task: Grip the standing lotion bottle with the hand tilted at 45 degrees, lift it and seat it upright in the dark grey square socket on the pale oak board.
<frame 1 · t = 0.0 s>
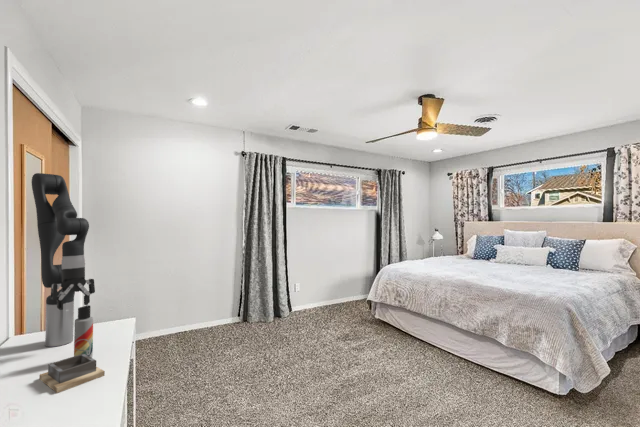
hand: (73, 307, 129), 17 cm above the table, tool pointing down, fingers open, 8 cm apart
lotion bottle: (83, 359, 120), on the table
socket board: (72, 377, 107), on the table
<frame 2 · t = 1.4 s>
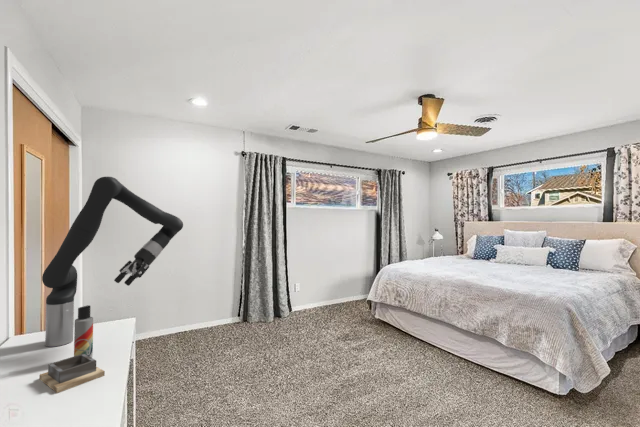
hand: (121, 283, 132), 26 cm above the table, tool tilted 45°, fingers open, 8 cm apart
nothing on the table moved.
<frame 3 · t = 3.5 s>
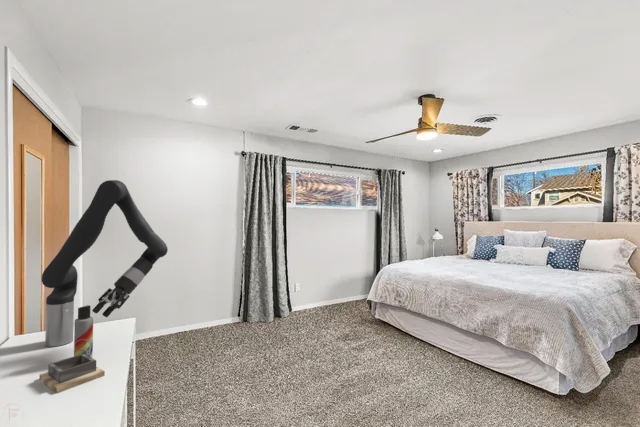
hand: (99, 314, 125), 16 cm above the table, tool tilted 45°, fingers open, 8 cm apart
nothing on the table moved.
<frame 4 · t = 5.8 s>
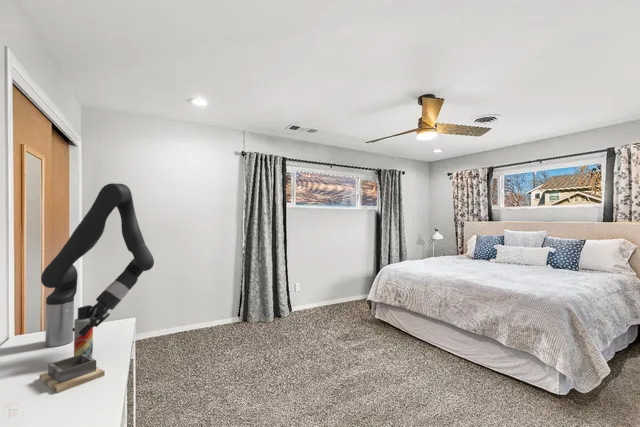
hand: (77, 333, 119), 10 cm above the table, tool tilted 45°, fingers closed on lotion bottle, 5 cm apart
lotion bottle: (83, 359, 121), on the table, touching gripper
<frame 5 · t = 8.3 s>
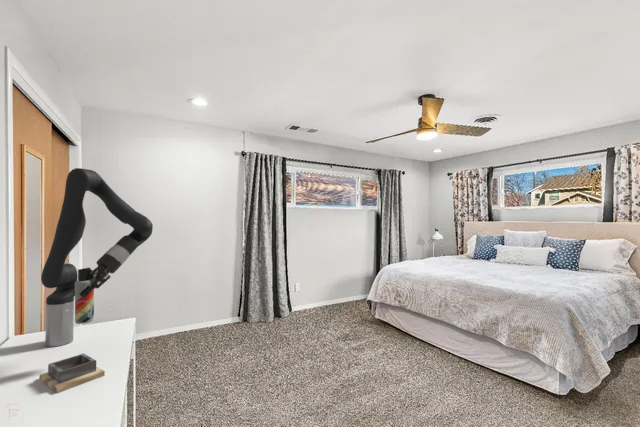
hand: (78, 295, 117), 25 cm above the table, tool tilted 45°, fingers closed on lotion bottle, 5 cm apart
lotion bottle: (84, 322, 118), point 15 cm above the table, touching gripper
when the fingers open (13 cm above the table, at t = 11.1 s): lotion bottle drops 2 cm, resting on socket board.
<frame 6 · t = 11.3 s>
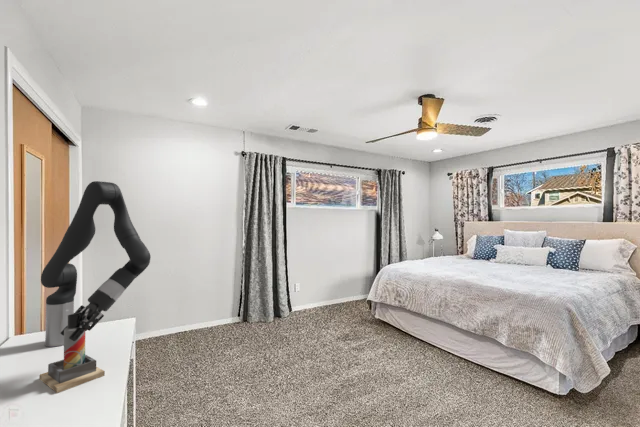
hand: (67, 337, 106), 14 cm above the table, tool tilted 45°, fingers open, 6 cm apart
lotion bottle: (74, 373, 107), point 1 cm above the table, touching gripper, socket board
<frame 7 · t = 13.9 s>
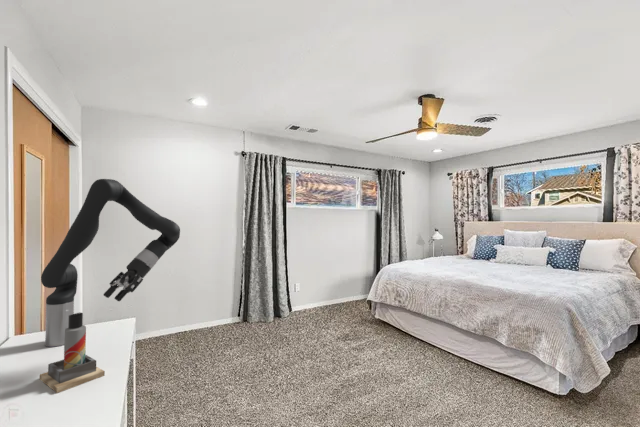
hand: (110, 298, 117), 24 cm above the table, tool tilted 45°, fingers open, 8 cm apart
lotion bottle: (74, 373, 107), point 1 cm above the table, touching socket board
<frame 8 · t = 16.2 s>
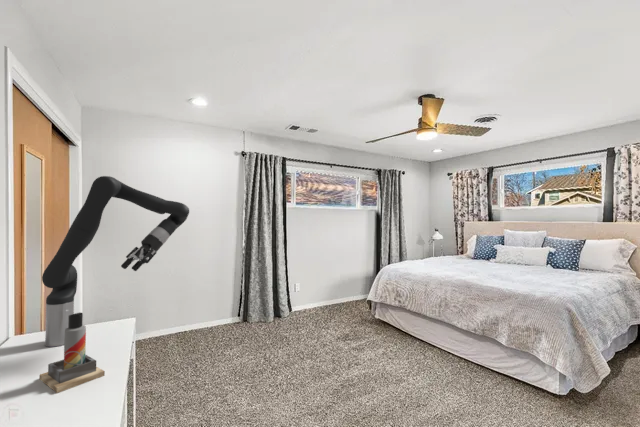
hand: (128, 268, 130), 33 cm above the table, tool tilted 45°, fingers open, 8 cm apart
nothing on the table moved.
at the end: lotion bottle 0.9 cm off-centre on the socket board, point 1.3 cm above the socket board's base; lotion bottle tilted 0°; the gripper is holding nothing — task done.
